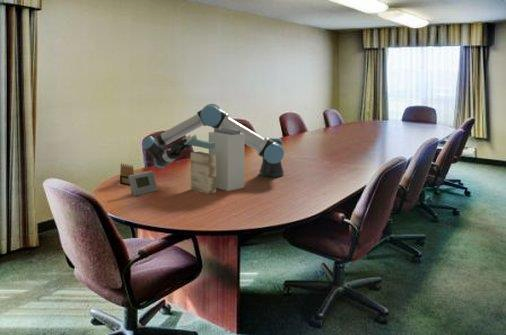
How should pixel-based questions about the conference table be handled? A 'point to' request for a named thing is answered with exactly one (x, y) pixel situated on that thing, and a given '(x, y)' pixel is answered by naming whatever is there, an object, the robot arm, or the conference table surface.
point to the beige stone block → (203, 172)
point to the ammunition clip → (125, 174)
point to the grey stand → (228, 157)
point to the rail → (201, 144)
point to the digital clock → (142, 183)
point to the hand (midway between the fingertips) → (193, 137)
